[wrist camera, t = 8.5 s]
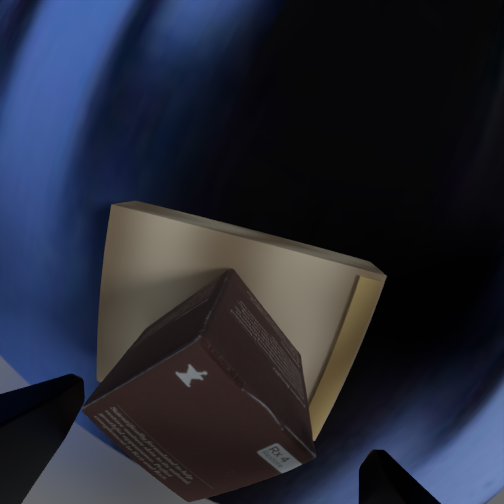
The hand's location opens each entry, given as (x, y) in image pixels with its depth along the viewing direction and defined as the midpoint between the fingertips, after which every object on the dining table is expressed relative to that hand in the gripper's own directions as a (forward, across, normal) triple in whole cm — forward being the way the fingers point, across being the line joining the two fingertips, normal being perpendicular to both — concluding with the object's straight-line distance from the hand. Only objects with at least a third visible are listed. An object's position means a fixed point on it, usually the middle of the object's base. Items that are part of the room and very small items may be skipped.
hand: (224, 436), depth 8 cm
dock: (+11, +1, +1) cm, 11 cm away
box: (+8, +1, +1) cm, 8 cm away
